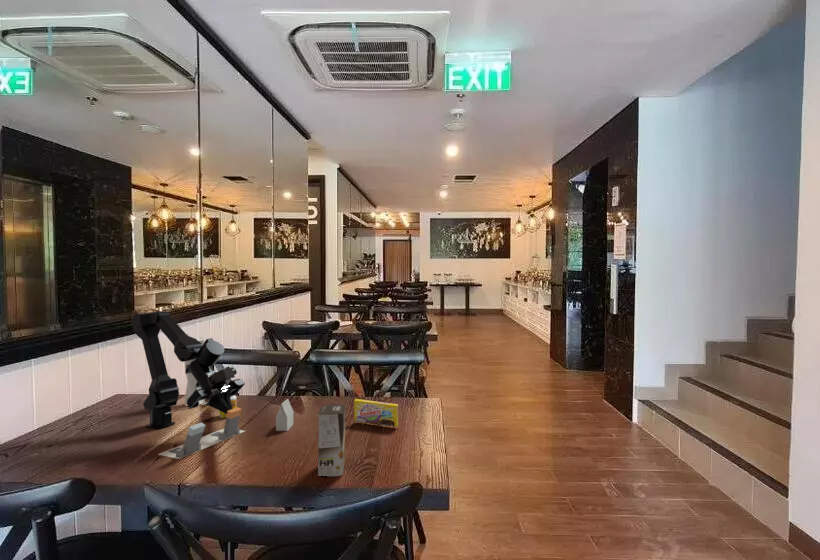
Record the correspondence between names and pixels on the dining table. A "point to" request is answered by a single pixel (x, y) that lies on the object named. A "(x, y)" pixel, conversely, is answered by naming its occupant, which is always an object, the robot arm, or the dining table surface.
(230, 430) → the lever
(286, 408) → the grey house block
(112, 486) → the dining table surface
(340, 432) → the coffee box
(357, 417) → the candy box
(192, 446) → the lever
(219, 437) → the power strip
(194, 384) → the skyscraper
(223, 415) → the supplement bottle
